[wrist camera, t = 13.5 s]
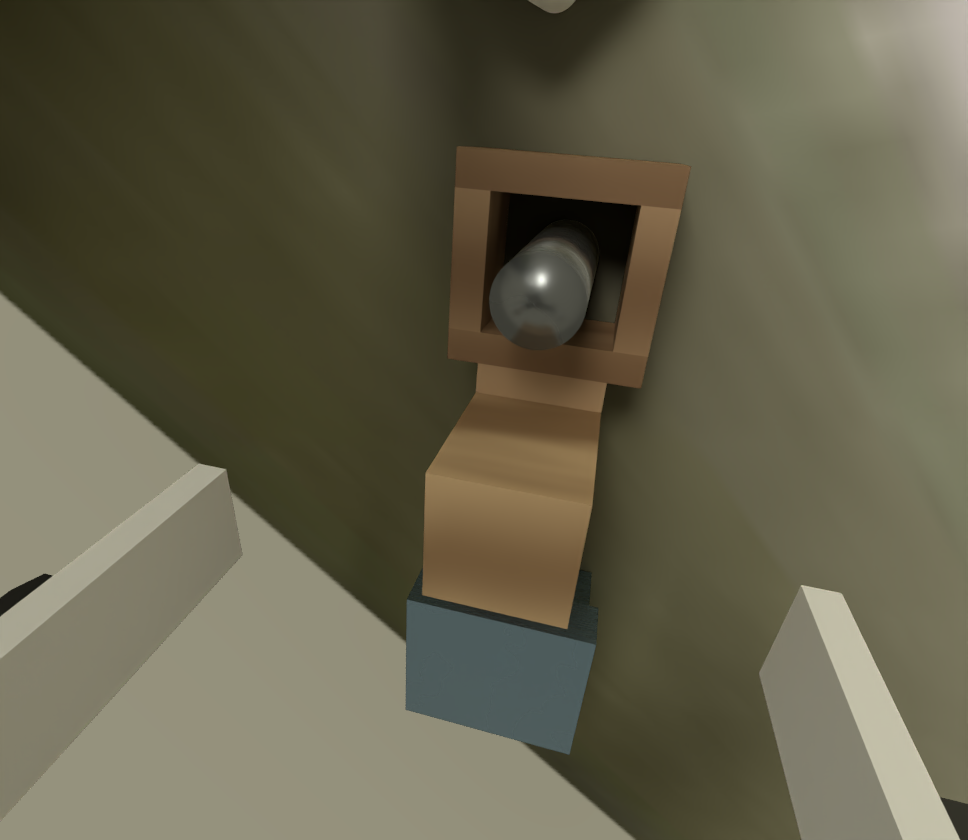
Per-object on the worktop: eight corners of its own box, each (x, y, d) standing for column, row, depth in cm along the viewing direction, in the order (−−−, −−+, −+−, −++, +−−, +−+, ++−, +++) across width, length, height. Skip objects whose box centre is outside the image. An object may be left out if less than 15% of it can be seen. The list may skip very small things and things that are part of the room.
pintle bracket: (479, 210, 18) (410, 237, 12) (666, 229, 17) (687, 270, 11) (454, 584, 25) (405, 709, 20) (582, 614, 24) (569, 754, 19)
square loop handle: (482, 147, 17) (382, 144, 10) (680, 163, 16) (722, 174, 9) (458, 526, 24) (389, 682, 17) (595, 555, 23) (581, 733, 16)
